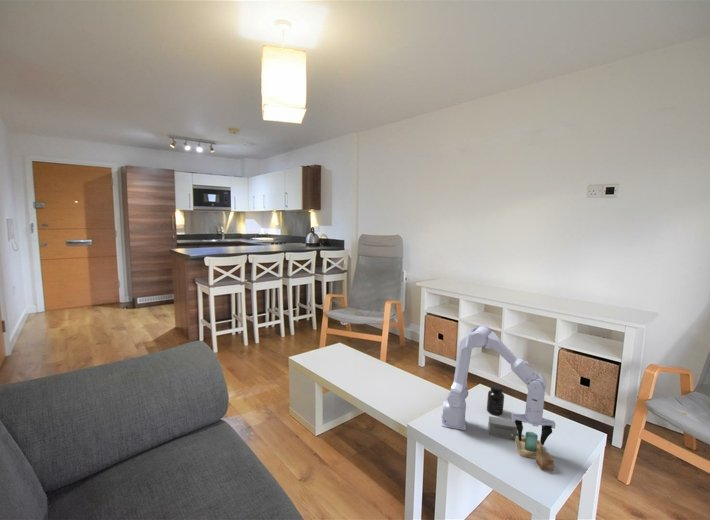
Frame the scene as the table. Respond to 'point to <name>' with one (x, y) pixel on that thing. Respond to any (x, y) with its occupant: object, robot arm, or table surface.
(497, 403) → the supplement bottle
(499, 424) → the gray block
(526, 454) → the birch tray
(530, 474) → the table surface
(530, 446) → the teal peg
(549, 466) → the walnut block
